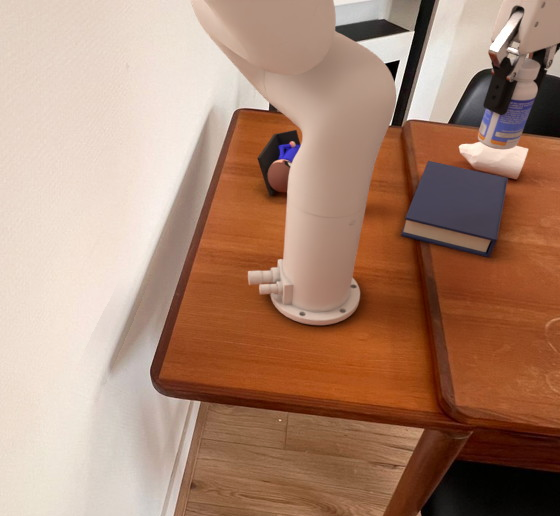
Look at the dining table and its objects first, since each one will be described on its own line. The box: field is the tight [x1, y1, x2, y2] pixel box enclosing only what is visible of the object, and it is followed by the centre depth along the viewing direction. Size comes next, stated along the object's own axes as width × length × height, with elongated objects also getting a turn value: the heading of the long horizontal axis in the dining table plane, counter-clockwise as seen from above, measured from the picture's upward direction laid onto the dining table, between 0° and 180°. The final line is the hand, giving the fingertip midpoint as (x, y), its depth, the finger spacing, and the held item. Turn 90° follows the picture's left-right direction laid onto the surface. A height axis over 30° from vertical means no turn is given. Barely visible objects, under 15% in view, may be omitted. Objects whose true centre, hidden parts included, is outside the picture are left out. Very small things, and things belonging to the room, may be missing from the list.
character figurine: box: [257, 129, 301, 197], centre depth 92 cm, size 8×7×15 cm
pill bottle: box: [477, 56, 540, 149], centre depth 68 cm, size 5×5×10 cm
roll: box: [458, 141, 529, 180], centre depth 98 cm, size 6×12×6 cm, turn 67°
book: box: [400, 160, 509, 258], centre depth 89 cm, size 20×14×3 cm
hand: (509, 103), depth 68 cm, fingers closed on pill bottle, 5 cm apart
